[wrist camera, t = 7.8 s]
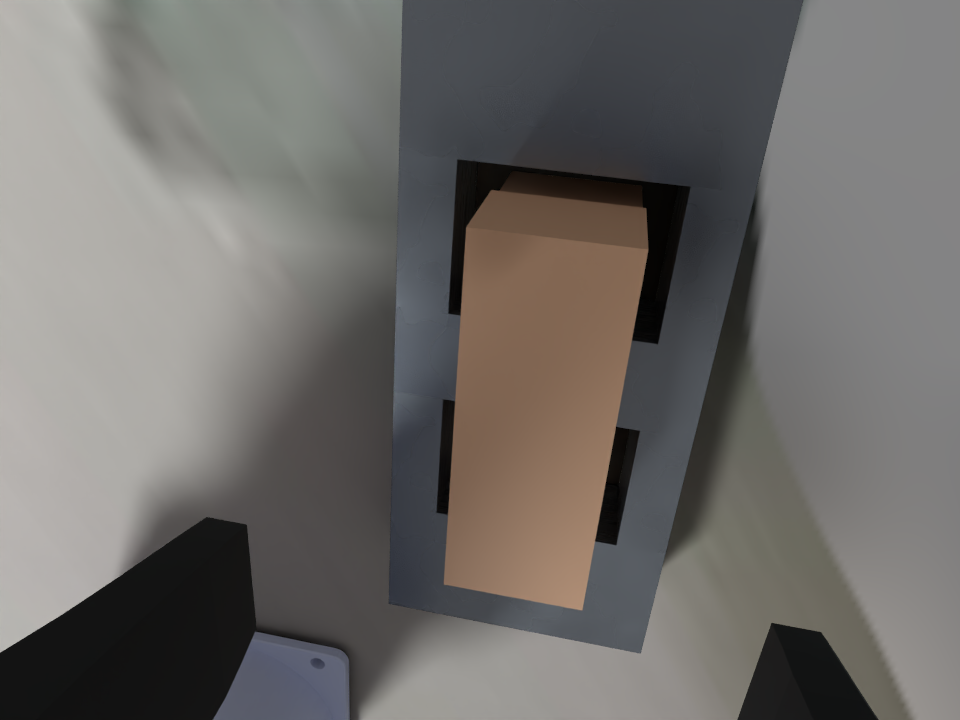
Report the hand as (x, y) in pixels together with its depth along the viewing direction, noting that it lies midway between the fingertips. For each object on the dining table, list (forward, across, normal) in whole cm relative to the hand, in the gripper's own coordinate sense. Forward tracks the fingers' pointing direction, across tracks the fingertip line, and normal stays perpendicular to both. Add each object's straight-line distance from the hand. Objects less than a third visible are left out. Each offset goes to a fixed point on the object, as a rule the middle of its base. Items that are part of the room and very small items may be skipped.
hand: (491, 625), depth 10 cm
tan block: (+10, 0, 0) cm, 10 cm away
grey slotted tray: (+10, 0, 0) cm, 10 cm away
